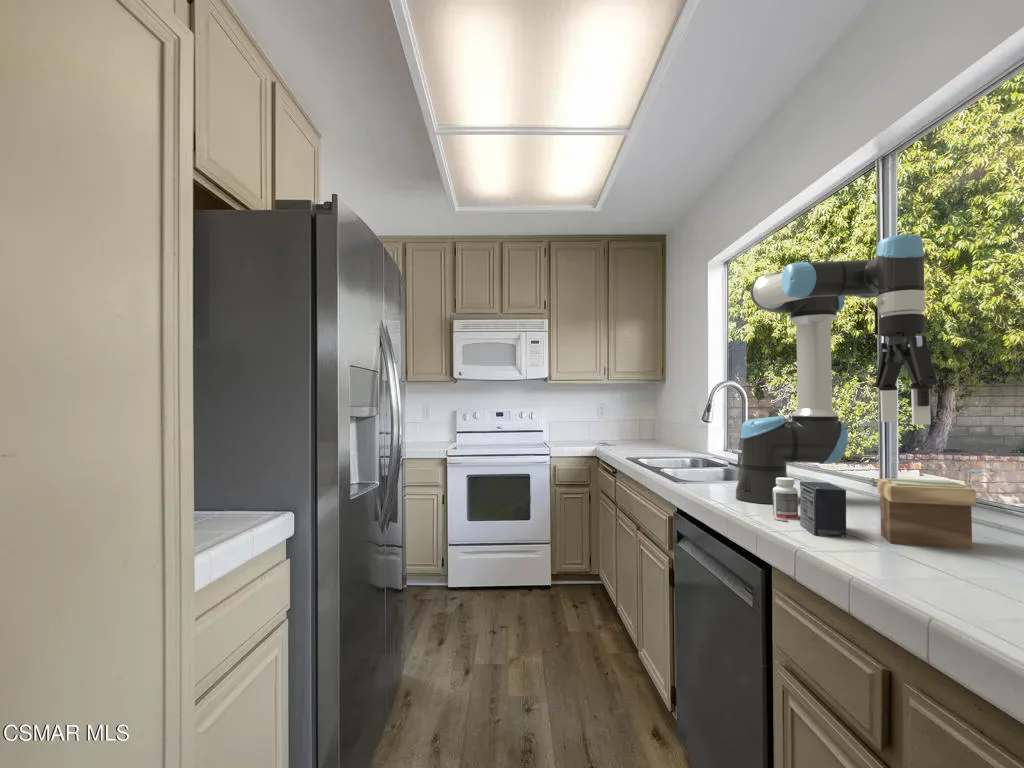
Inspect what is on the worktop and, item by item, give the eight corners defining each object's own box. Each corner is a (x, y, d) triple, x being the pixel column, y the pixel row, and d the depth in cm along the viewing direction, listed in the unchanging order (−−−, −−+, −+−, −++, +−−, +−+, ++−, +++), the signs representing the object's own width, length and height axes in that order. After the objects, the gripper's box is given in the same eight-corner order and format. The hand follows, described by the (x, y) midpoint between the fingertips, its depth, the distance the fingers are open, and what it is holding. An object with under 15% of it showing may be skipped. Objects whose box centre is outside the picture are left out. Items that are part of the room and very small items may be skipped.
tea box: (881, 538, 116) (880, 494, 117) (957, 543, 112) (956, 498, 112) (890, 546, 110) (889, 500, 110) (972, 553, 105) (971, 504, 105)
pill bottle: (803, 521, 133) (802, 479, 133) (783, 522, 131) (783, 480, 132) (787, 516, 138) (786, 476, 138) (768, 517, 137) (767, 477, 137)
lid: (877, 493, 118) (877, 477, 118) (954, 496, 114) (953, 480, 114) (891, 501, 108) (890, 484, 108) (975, 506, 104) (975, 487, 104)
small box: (849, 541, 115) (848, 489, 115) (814, 539, 116) (813, 488, 116) (830, 529, 125) (830, 481, 125) (799, 527, 126) (798, 480, 127)
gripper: (856, 324, 125) (858, 420, 124) (910, 305, 100) (913, 425, 100) (894, 323, 123) (897, 421, 122) (958, 303, 99) (962, 425, 98)
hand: (904, 423), depth 111 cm, fingers open, 13 cm apart
